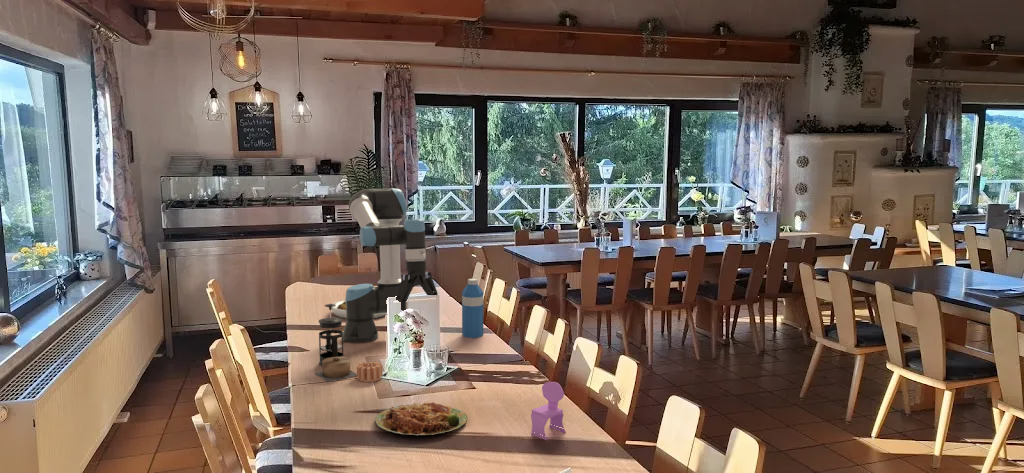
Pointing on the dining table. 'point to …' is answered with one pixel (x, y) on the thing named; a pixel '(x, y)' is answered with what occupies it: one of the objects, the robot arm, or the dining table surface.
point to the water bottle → (472, 310)
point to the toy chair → (548, 410)
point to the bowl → (341, 310)
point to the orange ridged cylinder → (369, 371)
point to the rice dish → (421, 419)
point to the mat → (335, 378)
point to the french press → (330, 337)
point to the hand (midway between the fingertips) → (418, 317)
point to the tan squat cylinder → (336, 367)
